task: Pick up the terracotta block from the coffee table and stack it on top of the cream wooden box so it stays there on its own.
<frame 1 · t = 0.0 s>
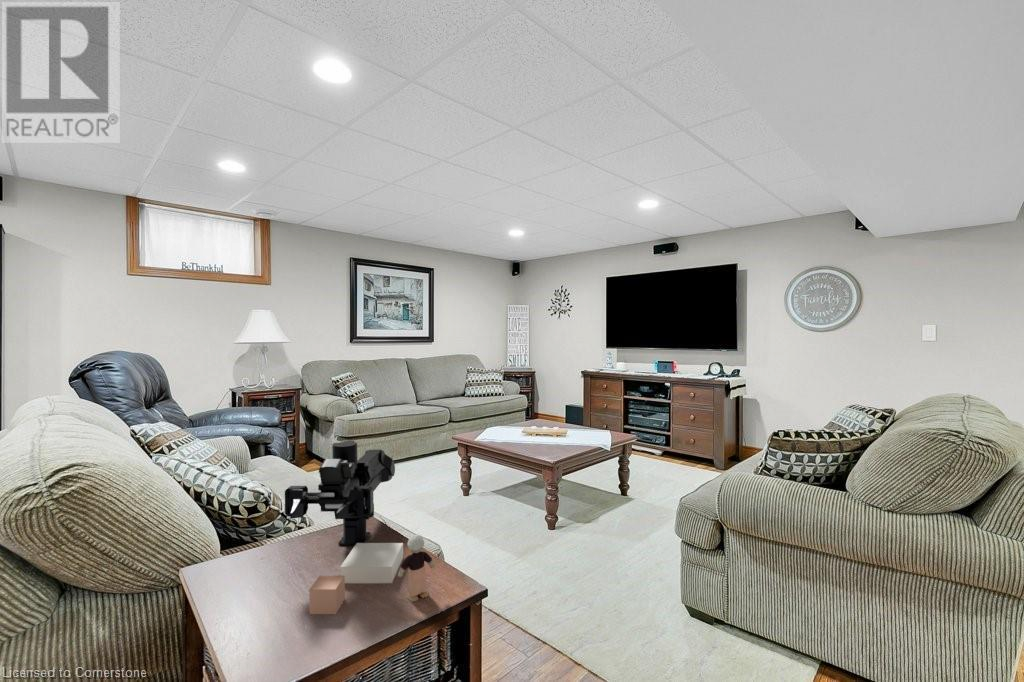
hand: (313, 516, 95), 17 cm above the table, tool horizontal, fingers open, 9 cm apart
terracotta block: (327, 607, 92), on the table
grandmother figurine: (415, 597, 96), on the table
cream box: (373, 571, 106), on the table
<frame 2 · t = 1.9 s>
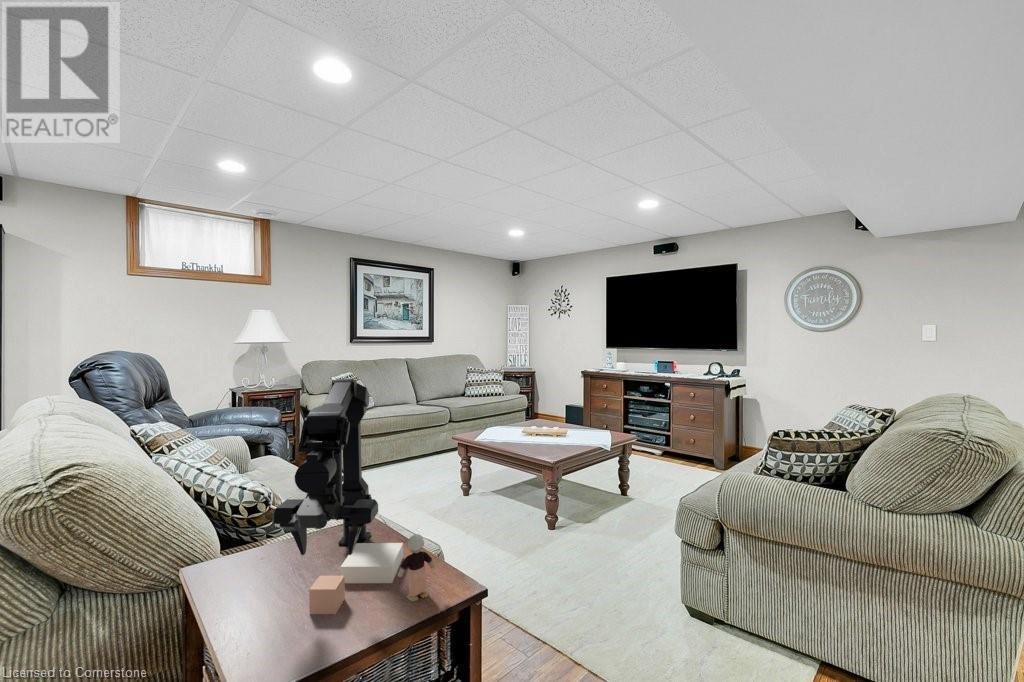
hand: (327, 554, 92), 10 cm above the table, tool pointing down, fingers open, 9 cm apart
nothing on the table moved.
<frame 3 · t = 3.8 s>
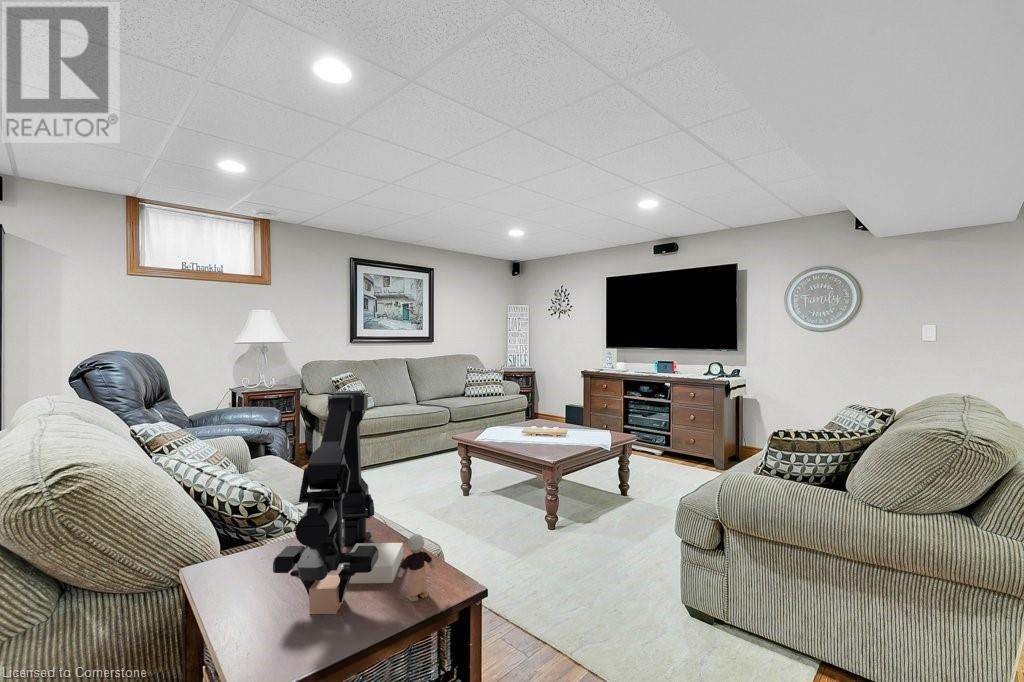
hand: (327, 601, 92), 1 cm above the table, tool pointing down, fingers closed on terracotta block, 5 cm apart
terracotta block: (327, 606, 92), on the table, touching gripper
everything else where it was.
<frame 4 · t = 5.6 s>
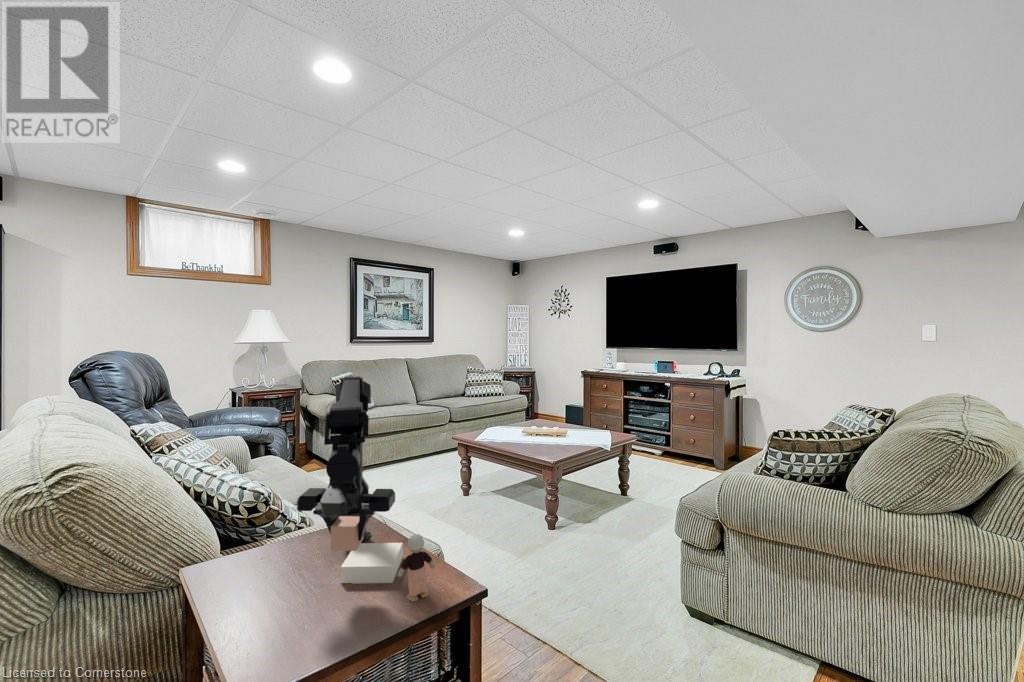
hand: (347, 539, 98), 11 cm above the table, tool pointing down, fingers closed on terracotta block, 5 cm apart
terracotta block: (347, 544, 98), point 9 cm above the table, touching gripper
everything else where it was.
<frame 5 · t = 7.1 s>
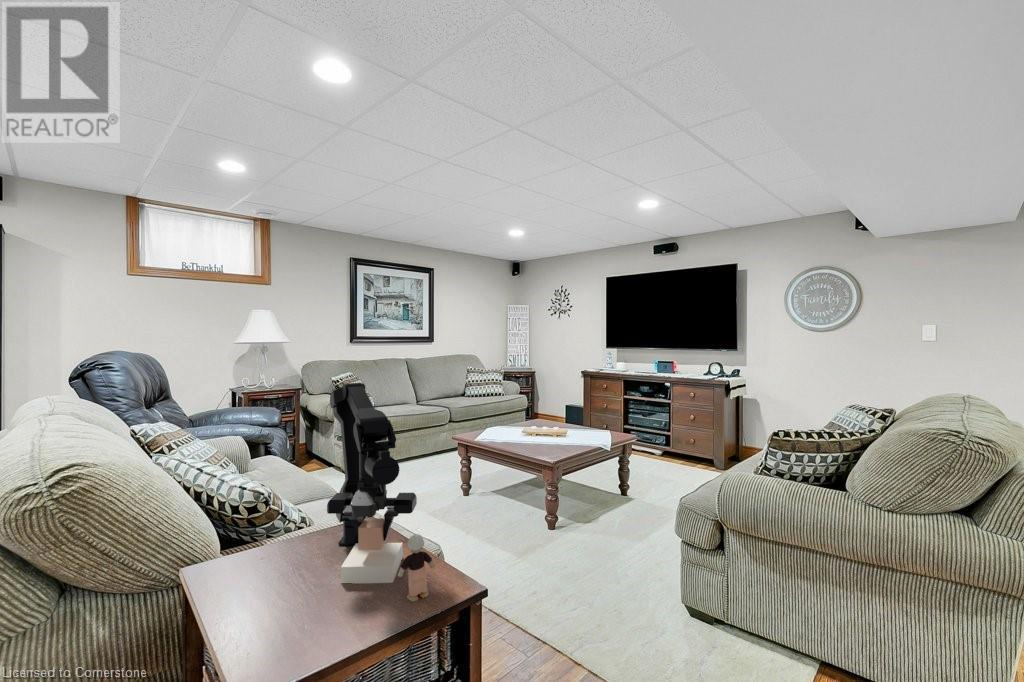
hand: (373, 540, 106), 7 cm above the table, tool pointing down, fingers closed on terracotta block, 5 cm apart
terracotta block: (373, 544, 106), point 6 cm above the table, touching gripper
everything else where it was.
when the fingers open (6 cm above the table, at t = 7.9 s): terracotta block drops 2 cm, resting on cream box.
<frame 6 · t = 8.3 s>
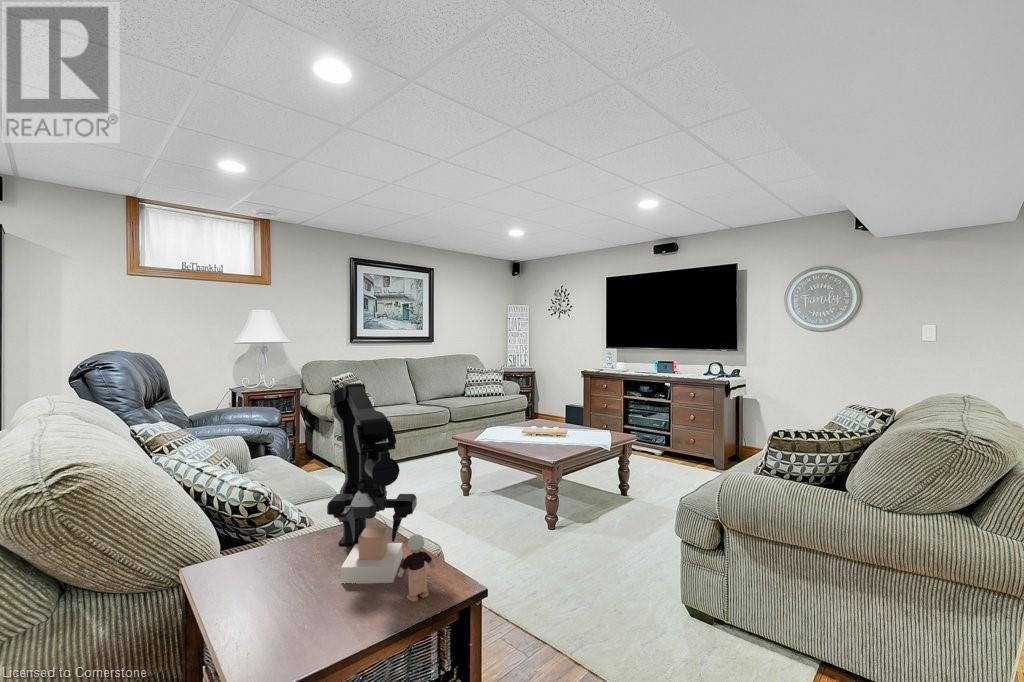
hand: (373, 541, 106), 6 cm above the table, tool pointing down, fingers open, 9 cm apart
terracotta block: (373, 554, 106), point 4 cm above the table, touching cream box
cream box: (373, 571, 106), on the table, touching terracotta block
everything else where it was.
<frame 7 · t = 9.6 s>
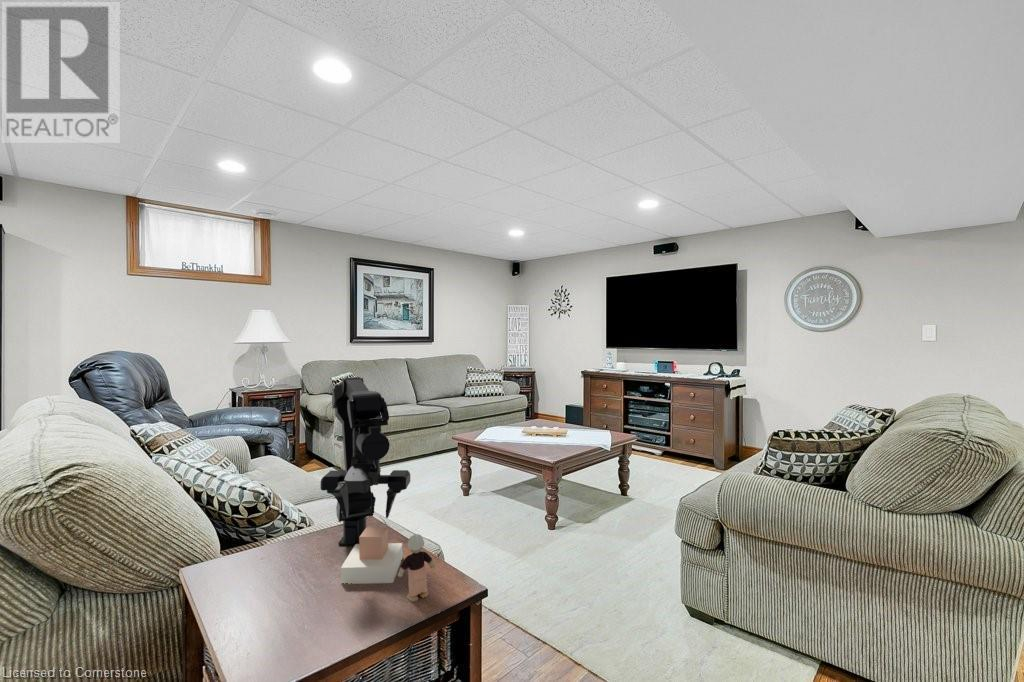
hand: (366, 517, 106), 12 cm above the table, tool pointing down, fingers open, 9 cm apart
nothing on the table moved.
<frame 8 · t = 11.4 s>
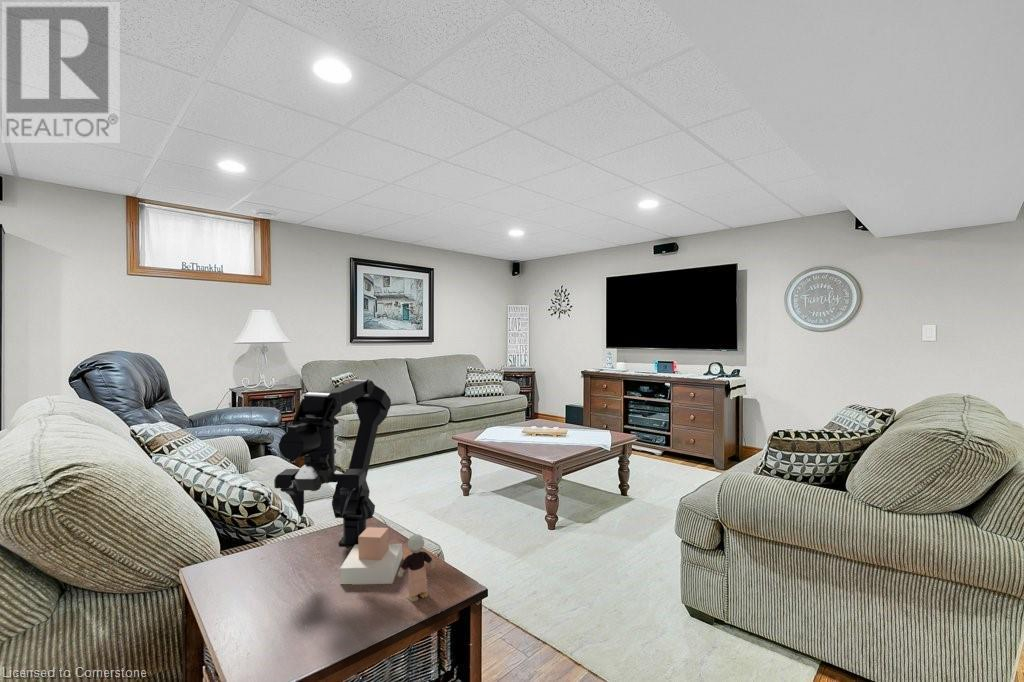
hand: (321, 515, 107), 12 cm above the table, tool pointing down, fingers open, 9 cm apart
terracotta block: (373, 554, 106), point 4 cm above the table
cream box: (372, 572, 106), on the table
everything else where it was.
at the end: terracotta block inside the target area on the cream box (0.4 cm from its centre), point 4.0 cm above the cream box's base; terracotta block tilted 0°; the gripper is holding nothing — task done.
